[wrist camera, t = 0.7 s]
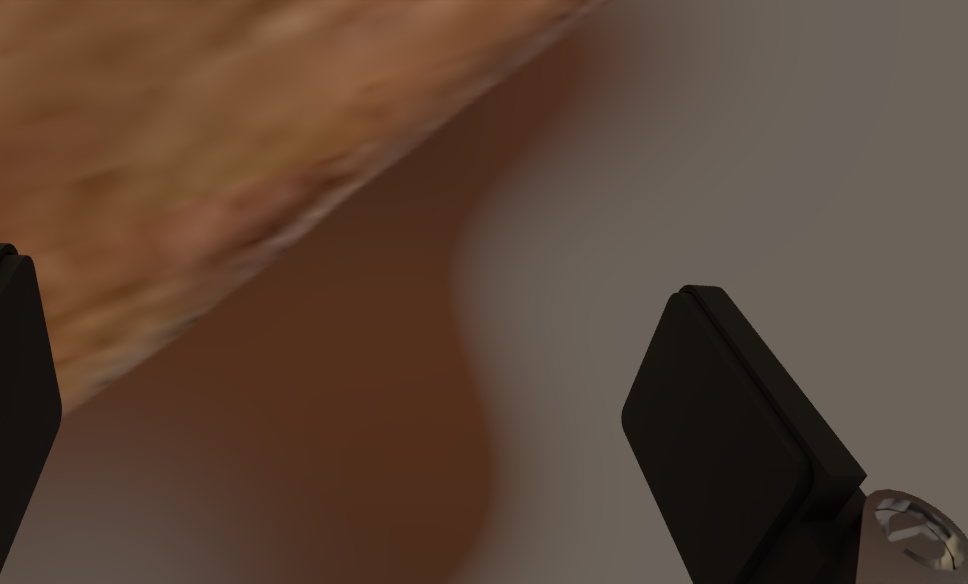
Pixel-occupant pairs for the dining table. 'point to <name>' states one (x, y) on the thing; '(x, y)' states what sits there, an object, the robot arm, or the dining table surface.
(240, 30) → the dining table surface
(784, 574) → the robot arm
